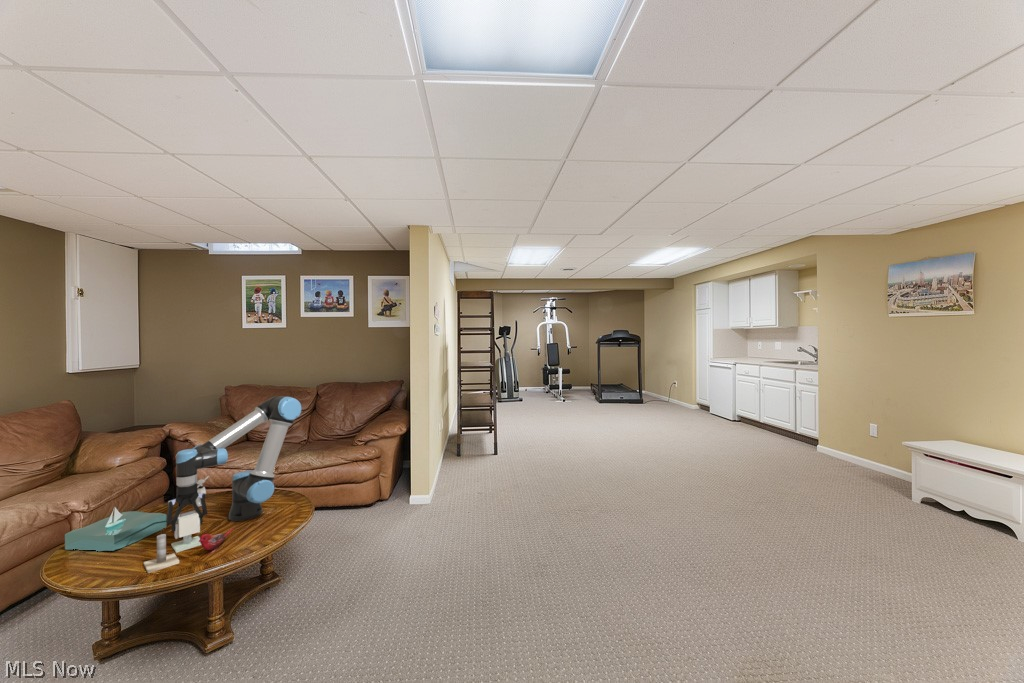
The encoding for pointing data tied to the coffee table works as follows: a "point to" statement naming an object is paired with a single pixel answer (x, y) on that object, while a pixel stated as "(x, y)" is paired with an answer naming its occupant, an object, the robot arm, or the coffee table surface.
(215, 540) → the decorative bird figurine
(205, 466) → the robot arm
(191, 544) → the post
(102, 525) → the sailboat water diorama
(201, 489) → the cricket player figurine
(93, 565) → the coffee table surface
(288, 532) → the coffee table surface
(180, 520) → the white drawer box
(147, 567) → the post
